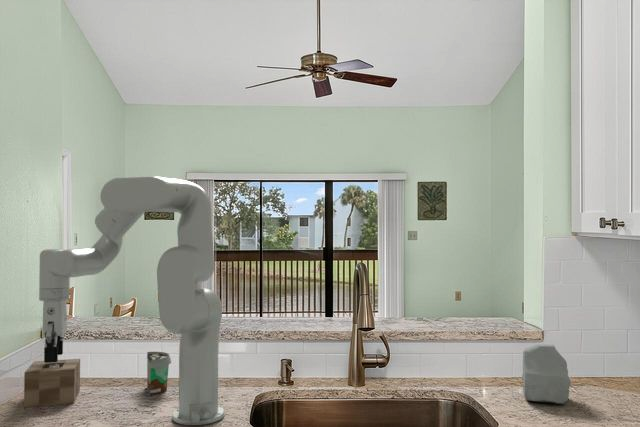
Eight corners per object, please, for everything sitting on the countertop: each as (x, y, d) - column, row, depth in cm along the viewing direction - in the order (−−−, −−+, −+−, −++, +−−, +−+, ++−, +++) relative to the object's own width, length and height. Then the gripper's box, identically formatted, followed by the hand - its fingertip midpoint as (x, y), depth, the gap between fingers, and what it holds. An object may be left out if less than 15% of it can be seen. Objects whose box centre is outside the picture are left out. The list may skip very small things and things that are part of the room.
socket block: (74, 403, 149) (74, 369, 149) (24, 407, 146) (24, 372, 146) (79, 390, 161) (80, 358, 161) (33, 393, 157) (34, 361, 157)
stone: (566, 395, 157) (565, 341, 157) (571, 409, 145) (571, 351, 146) (521, 391, 161) (521, 338, 161) (523, 404, 149) (523, 347, 149)
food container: (173, 395, 156) (173, 359, 157) (150, 397, 154) (150, 361, 154) (168, 383, 168) (168, 349, 168) (146, 385, 166) (147, 351, 166)
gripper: (64, 297, 146) (63, 365, 146) (73, 290, 163) (73, 350, 163) (32, 298, 144) (31, 367, 144) (45, 290, 161) (44, 352, 161)
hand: (53, 358), depth 153 cm, fingers open, 8 cm apart
